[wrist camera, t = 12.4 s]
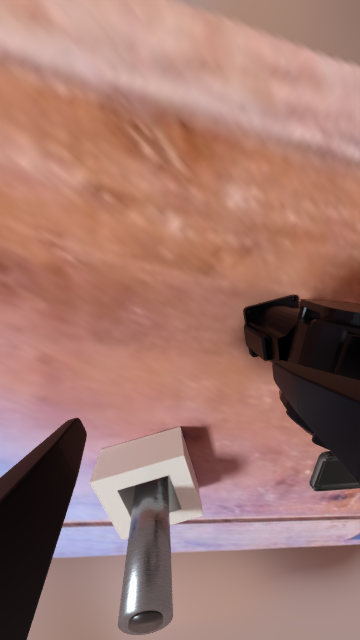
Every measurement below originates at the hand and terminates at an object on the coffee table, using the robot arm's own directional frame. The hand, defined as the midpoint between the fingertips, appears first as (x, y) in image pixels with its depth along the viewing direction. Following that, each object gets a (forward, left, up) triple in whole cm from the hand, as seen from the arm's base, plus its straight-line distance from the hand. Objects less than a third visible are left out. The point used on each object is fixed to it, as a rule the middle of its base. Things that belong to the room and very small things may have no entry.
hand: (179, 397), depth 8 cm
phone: (-24, +34, -14) cm, 44 cm away
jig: (+8, +21, -13) cm, 26 cm away
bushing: (+8, +21, -13) cm, 26 cm away
